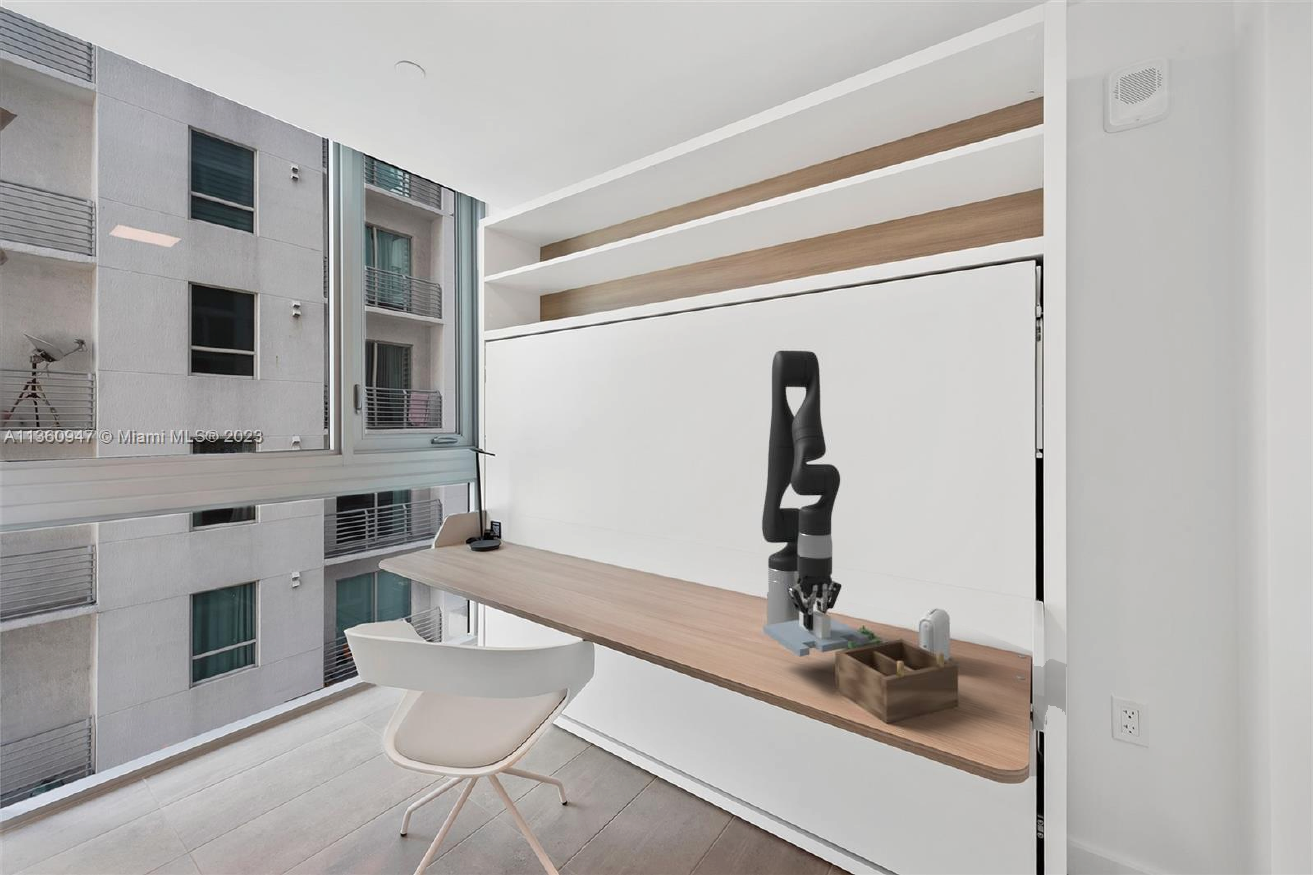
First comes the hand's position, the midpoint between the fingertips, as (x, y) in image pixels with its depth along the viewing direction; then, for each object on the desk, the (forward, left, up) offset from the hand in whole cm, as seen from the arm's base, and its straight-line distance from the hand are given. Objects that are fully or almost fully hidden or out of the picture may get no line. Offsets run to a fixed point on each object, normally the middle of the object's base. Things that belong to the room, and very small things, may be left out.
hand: (814, 628), depth 121 cm
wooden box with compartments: (+16, +7, -9) cm, 20 cm away
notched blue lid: (0, 0, -2) cm, 2 cm away
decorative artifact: (-3, +17, -10) cm, 19 cm away
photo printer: (+7, +28, -10) cm, 31 cm away
